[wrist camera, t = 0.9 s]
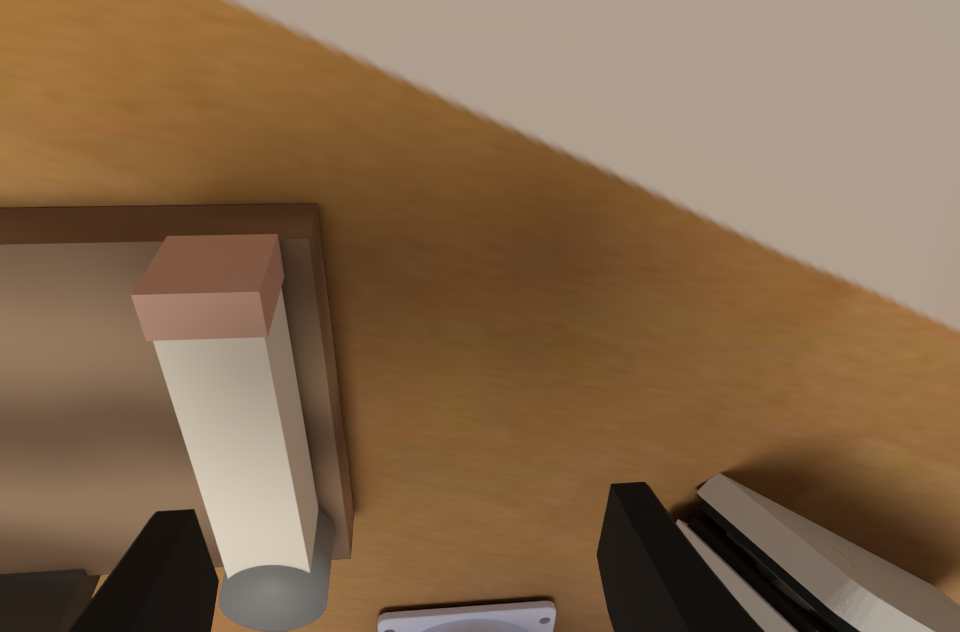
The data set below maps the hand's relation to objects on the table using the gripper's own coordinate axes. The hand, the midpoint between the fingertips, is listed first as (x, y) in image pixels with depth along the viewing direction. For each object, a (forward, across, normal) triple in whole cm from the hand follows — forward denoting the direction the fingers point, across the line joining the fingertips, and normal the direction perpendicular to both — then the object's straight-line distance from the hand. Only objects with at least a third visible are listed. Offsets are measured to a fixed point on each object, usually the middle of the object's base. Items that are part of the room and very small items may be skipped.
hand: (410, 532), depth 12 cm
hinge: (+10, -18, +16) cm, 26 cm away
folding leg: (+7, +4, +4) cm, 9 cm away
